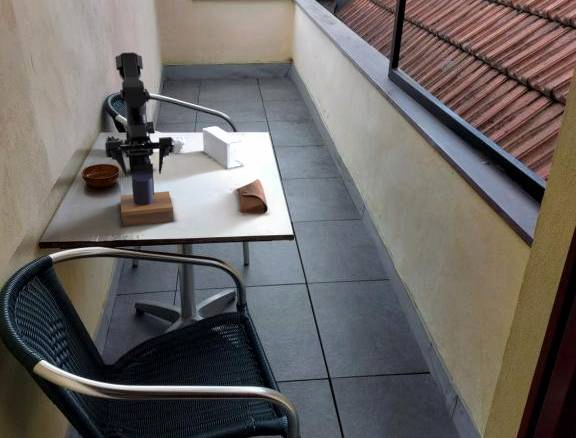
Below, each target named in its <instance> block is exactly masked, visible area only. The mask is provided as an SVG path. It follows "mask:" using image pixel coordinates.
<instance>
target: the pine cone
mask: <svg viewBox="0 0 576 438" xmlns="http://www.w3.org/2000/svg"><path fill="white" fill-rule="evenodd" d="M105 139H106V140H105V143H106V142H107V141H116V140H119V141H120V145H123V144H125V141H124V139H120V138H119V137H117V138H115V136H114V135H112V136H111V137H110V136H107V137H105ZM122 154H126V151H122Z"/></svg>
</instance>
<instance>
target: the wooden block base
mask: <svg viewBox="0 0 576 438" xmlns="http://www.w3.org/2000/svg"><path fill="white" fill-rule="evenodd" d="M119 196H120V212H121V220H122V227H130V226H139V225H141V226H142V225H150V224H158V223H169V222H174V221H175V218H174V206H173V202H172V198H171V194H170V191H168V190H167V191H154V195H153V202H152V203H150V204H148V205H139V204H136V203H135V202H134V200H133V194H123V195H122V194H121V195H119Z"/></svg>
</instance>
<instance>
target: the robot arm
mask: <svg viewBox="0 0 576 438" xmlns="http://www.w3.org/2000/svg"><path fill="white" fill-rule="evenodd" d="M114 58H115V60H114V61H115V69H116V71H118V76H119V78H120V79H121V81H122V82H121V89H119V94H120V103H121V104H123V105H124V106H125V117H126V126H127V130H126V134H125V138H126V139H123V142H124V143H125V144H123V145H120V140H116V141H107V142H106V141H105V143H104V146H105V148H104V149H105V154H106V158H109V159H111V160H112V161H116V162H117V164H118V165H119V167H120V169H121V171H122V172H123V174H124V177H126V178H127V177H128V174H131V175H132V174H134V166H140V165H146V164H152V159H151V158H150V157H152V156H153V155H154V150H158V174H159V175H161V174H162V171H163V165H164V162H165V159H166V157H169V156H170V154H172V153H173V151H174V141H173V138H174V137H171V136H164V137H158V141H155V142H153V141H152V139H151V136H150V135H152V134H155V133H156V129H155V121H148V116H147V103H149V100H151V93H150V92H149V91H148V89H147V88H145V85H144V81H142V80H141V79H140V78H141V76H142V70H143V69H144V63H143V56H142V55H139V54H138V53H137V52H133V51H131V52H121V53H120V54H119V55H116V56H114ZM123 151H126V153H125V157H126V158H128V164H129V170H127V166H126V163H125V159H124V155H123V154H124V153H123ZM173 154H174V153H173Z"/></svg>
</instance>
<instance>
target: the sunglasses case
mask: <svg viewBox="0 0 576 438" xmlns="http://www.w3.org/2000/svg"><path fill="white" fill-rule="evenodd" d="M236 192H237V194H238V200H239V212H240V213H241V214H243V215H244V214H245V215H264V214H266V213H267V212H268V210H269V208H268V207H269V206H268V203H267V202H268V201H267V199H266V194H265V191H264V187H263V184H262V182H261V180H260V179H258V178H256V179H255V180H254V181H252V182H249V183H247V184H245V185H243V186H241V187H238V188H236Z"/></svg>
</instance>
